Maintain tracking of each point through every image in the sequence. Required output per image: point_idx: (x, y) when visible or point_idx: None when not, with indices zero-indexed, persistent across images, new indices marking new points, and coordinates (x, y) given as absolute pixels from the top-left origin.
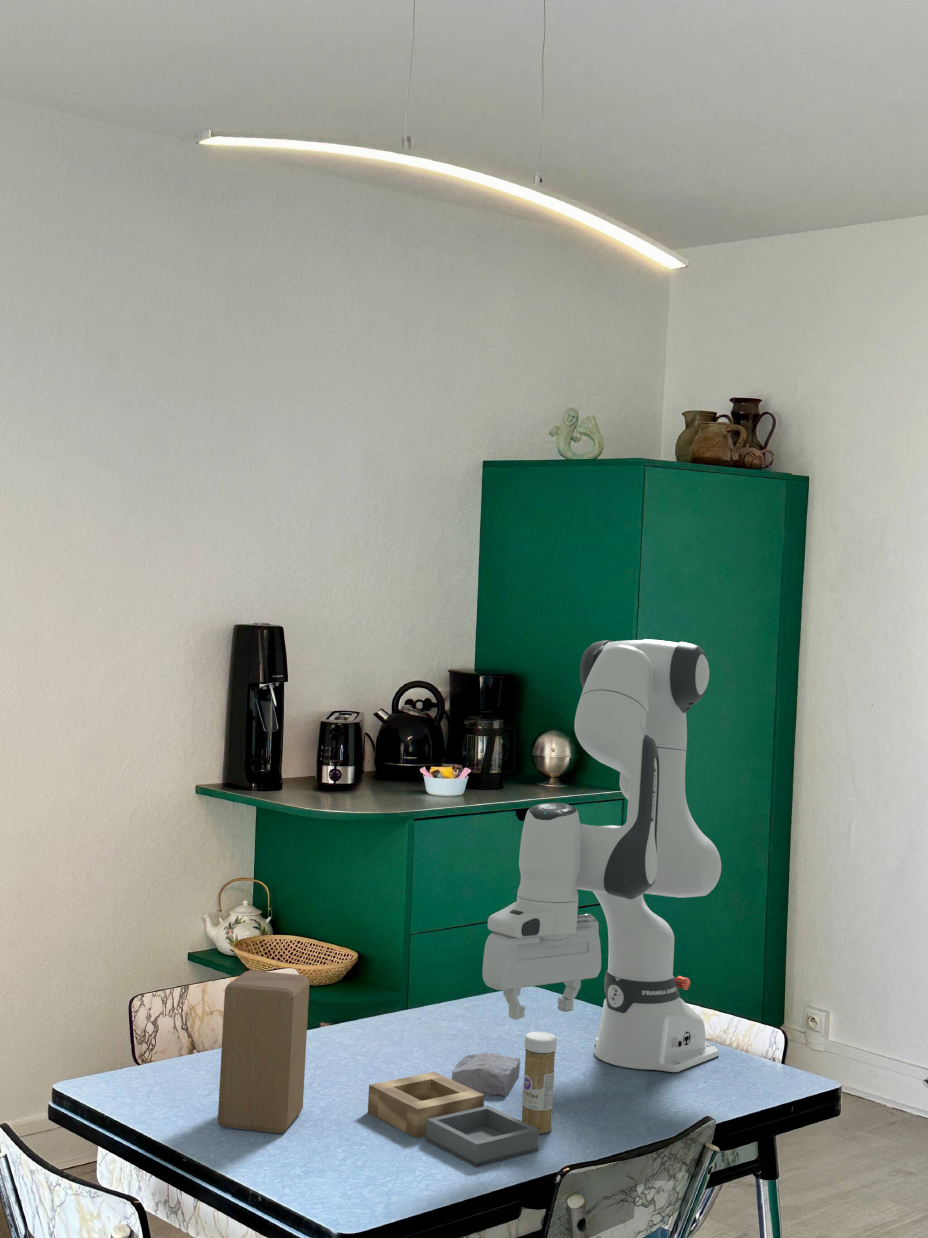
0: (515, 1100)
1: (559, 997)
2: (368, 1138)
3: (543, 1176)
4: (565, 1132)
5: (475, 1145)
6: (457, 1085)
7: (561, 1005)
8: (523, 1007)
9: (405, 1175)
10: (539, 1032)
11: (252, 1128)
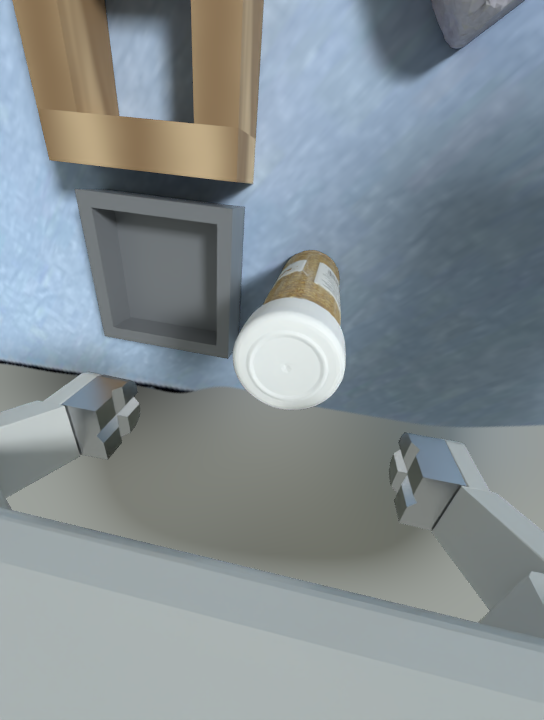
0: (440, 101)
1: (432, 481)
2: (9, 96)
3: (187, 392)
4: None
5: (105, 332)
6: (223, 56)
7: (407, 465)
8: (101, 455)
9: (27, 278)
10: (310, 345)
11: None
